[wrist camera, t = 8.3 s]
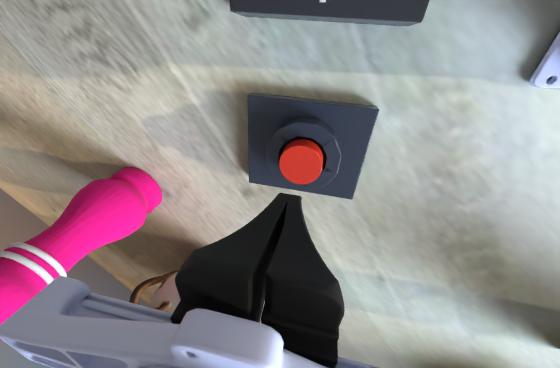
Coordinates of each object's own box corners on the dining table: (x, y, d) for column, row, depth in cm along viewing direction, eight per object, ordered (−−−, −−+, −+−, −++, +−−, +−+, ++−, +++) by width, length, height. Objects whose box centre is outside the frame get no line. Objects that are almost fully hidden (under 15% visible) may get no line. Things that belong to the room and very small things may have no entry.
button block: (377, 106, 18) (383, 115, 16) (351, 193, 23) (353, 210, 21) (251, 92, 20) (240, 98, 17) (252, 177, 25) (243, 191, 22)
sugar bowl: (152, 254, 37) (61, 358, 25) (204, 220, 30) (114, 342, 18) (232, 316, 43) (192, 426, 31) (292, 300, 36) (270, 434, 24)
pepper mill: (141, 214, 32) (-62, 392, 16) (105, 173, 29) (-194, 339, 13) (176, 202, 29) (-25, 404, 13) (140, 156, 27) (-183, 339, 10)
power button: (326, 141, 18) (325, 148, 17) (319, 178, 20) (318, 187, 19) (283, 136, 19) (280, 142, 17) (281, 172, 21) (277, 181, 19)
